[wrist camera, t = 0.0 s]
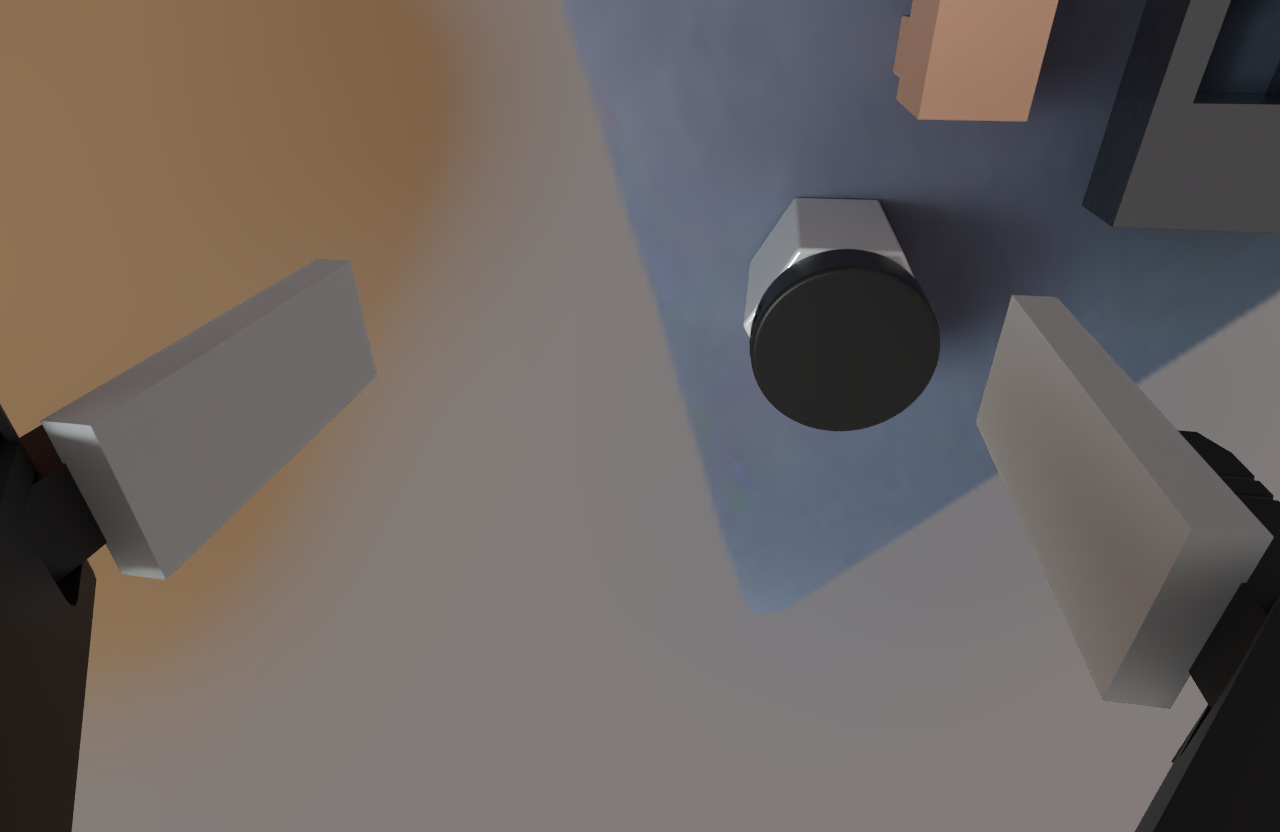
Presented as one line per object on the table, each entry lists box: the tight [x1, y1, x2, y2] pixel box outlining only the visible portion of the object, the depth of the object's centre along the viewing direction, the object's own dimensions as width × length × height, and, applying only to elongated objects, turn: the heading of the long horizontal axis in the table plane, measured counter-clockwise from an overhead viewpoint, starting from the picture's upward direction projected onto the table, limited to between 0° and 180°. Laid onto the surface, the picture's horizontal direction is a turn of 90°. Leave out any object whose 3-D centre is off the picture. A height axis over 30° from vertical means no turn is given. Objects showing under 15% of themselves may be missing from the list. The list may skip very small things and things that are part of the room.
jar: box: [744, 198, 940, 431], centre depth 36 cm, size 9×8×12 cm
